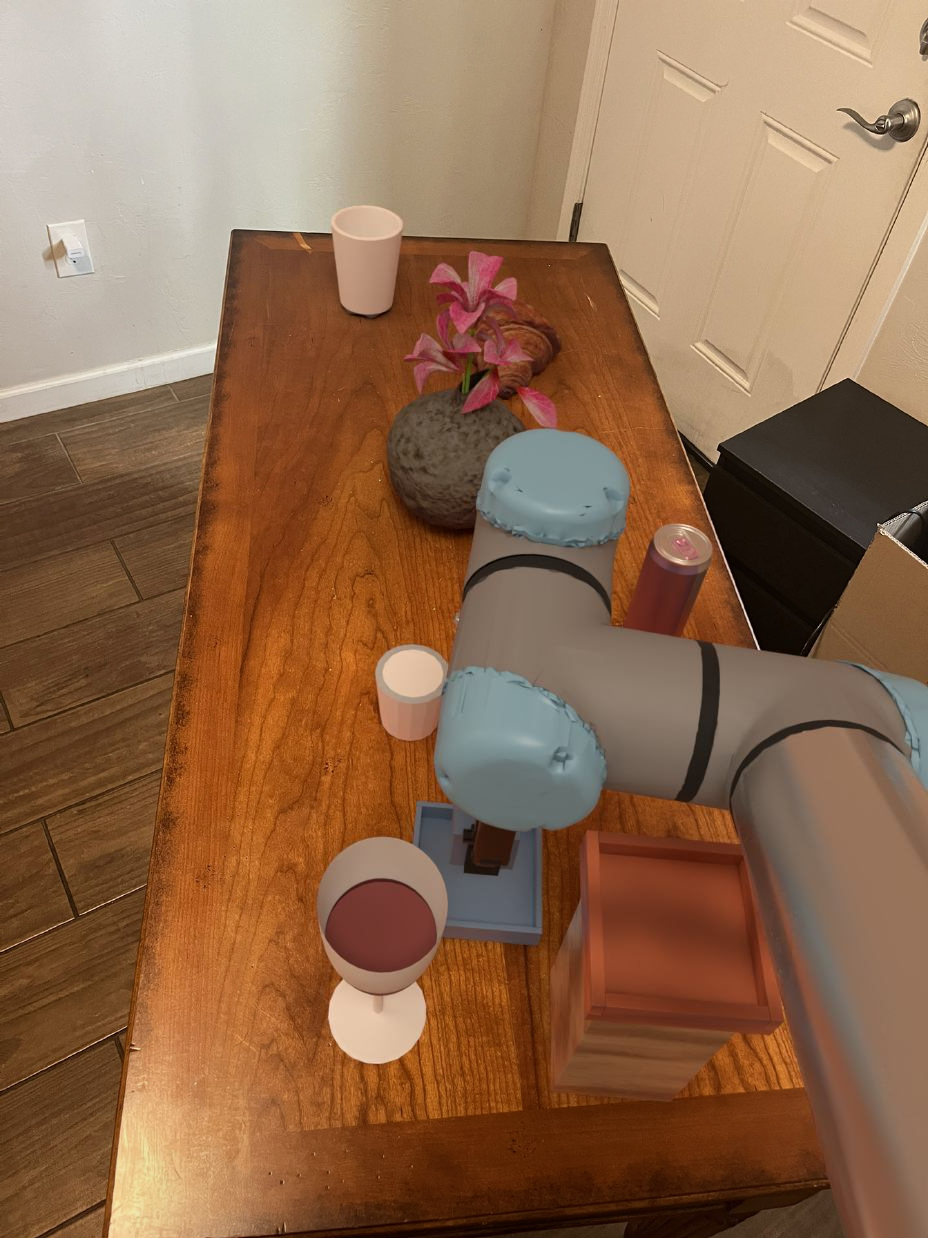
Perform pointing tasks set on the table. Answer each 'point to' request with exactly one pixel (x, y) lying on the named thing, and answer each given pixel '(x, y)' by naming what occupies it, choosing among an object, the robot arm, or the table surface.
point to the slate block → (459, 848)
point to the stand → (657, 967)
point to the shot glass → (410, 690)
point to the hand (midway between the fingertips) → (482, 836)
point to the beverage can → (669, 580)
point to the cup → (366, 257)
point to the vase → (459, 402)
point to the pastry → (532, 338)
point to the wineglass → (380, 943)
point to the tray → (484, 884)
